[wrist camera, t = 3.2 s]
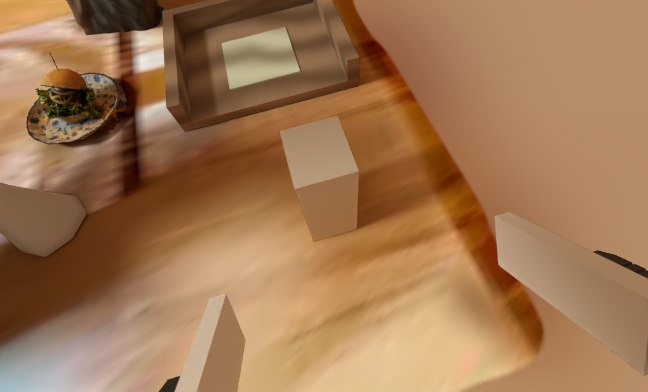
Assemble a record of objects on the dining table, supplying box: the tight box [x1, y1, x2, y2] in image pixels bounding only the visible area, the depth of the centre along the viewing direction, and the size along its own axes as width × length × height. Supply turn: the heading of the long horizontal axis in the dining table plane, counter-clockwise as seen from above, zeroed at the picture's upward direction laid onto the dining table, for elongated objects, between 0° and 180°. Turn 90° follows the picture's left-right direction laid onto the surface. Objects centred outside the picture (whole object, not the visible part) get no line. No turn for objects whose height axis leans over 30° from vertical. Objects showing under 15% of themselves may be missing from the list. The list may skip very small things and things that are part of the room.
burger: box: [26, 52, 127, 144], centre depth 37 cm, size 12×12×8 cm
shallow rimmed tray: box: [162, 0, 359, 132], centre depth 40 cm, size 18×22×4 cm
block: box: [279, 115, 359, 242], centre depth 26 cm, size 5×4×11 cm
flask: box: [0, 183, 87, 257], centre depth 29 cm, size 7×7×10 cm
